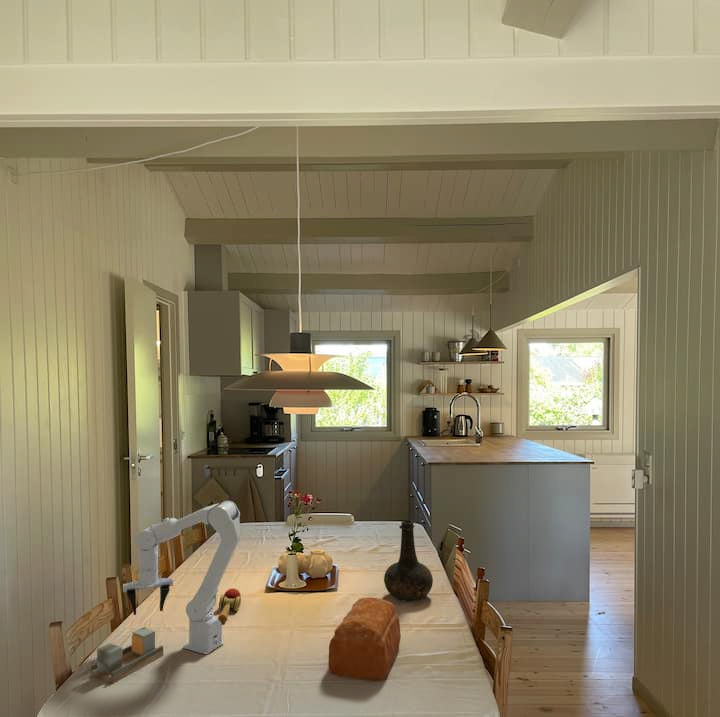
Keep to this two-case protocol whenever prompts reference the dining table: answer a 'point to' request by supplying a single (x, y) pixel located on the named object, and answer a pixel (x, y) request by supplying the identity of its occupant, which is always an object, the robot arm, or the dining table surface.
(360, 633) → the bread
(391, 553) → the dining table surface
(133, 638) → the block
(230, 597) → the kendama
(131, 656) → the jaw track
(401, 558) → the glass bottle
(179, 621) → the dining table surface
